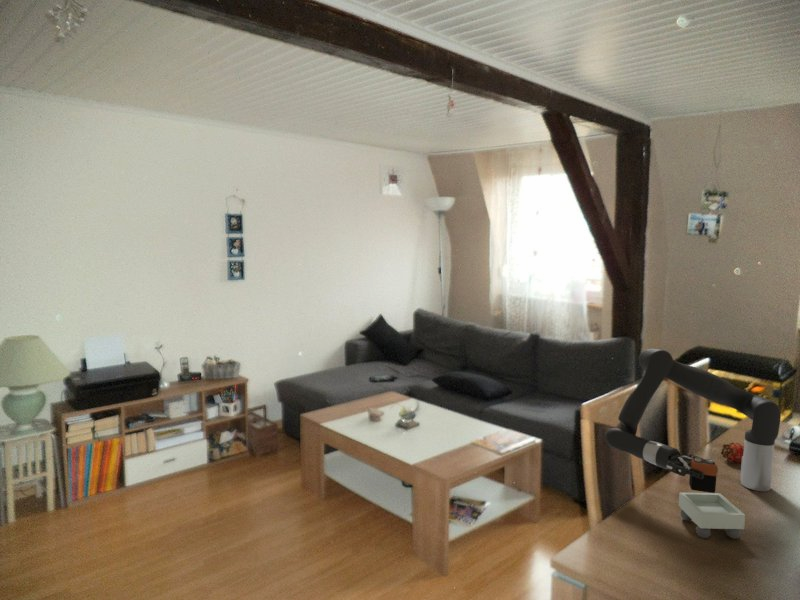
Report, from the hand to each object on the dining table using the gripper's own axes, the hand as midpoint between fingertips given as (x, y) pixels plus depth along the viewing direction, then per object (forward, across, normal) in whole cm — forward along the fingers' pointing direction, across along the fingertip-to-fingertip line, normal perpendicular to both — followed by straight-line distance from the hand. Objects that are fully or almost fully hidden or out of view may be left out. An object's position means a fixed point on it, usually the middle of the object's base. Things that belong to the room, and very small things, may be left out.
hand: (710, 473), depth 173 cm
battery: (-2, 0, +6) cm, 7 cm away
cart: (+1, 0, +18) cm, 18 cm away
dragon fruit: (-23, +62, +18) cm, 68 cm away
